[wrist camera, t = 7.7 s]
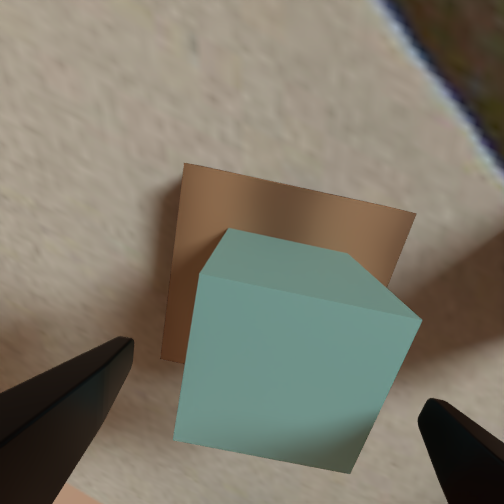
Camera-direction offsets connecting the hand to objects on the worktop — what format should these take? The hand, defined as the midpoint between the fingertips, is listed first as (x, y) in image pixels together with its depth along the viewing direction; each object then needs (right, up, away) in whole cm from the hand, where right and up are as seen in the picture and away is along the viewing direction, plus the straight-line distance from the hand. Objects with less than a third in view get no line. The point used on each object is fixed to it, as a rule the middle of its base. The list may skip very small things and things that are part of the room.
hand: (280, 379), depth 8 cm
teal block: (0, +2, +6) cm, 6 cm away
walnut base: (0, +2, +8) cm, 9 cm away
